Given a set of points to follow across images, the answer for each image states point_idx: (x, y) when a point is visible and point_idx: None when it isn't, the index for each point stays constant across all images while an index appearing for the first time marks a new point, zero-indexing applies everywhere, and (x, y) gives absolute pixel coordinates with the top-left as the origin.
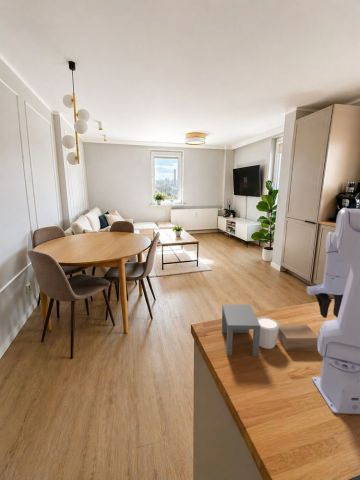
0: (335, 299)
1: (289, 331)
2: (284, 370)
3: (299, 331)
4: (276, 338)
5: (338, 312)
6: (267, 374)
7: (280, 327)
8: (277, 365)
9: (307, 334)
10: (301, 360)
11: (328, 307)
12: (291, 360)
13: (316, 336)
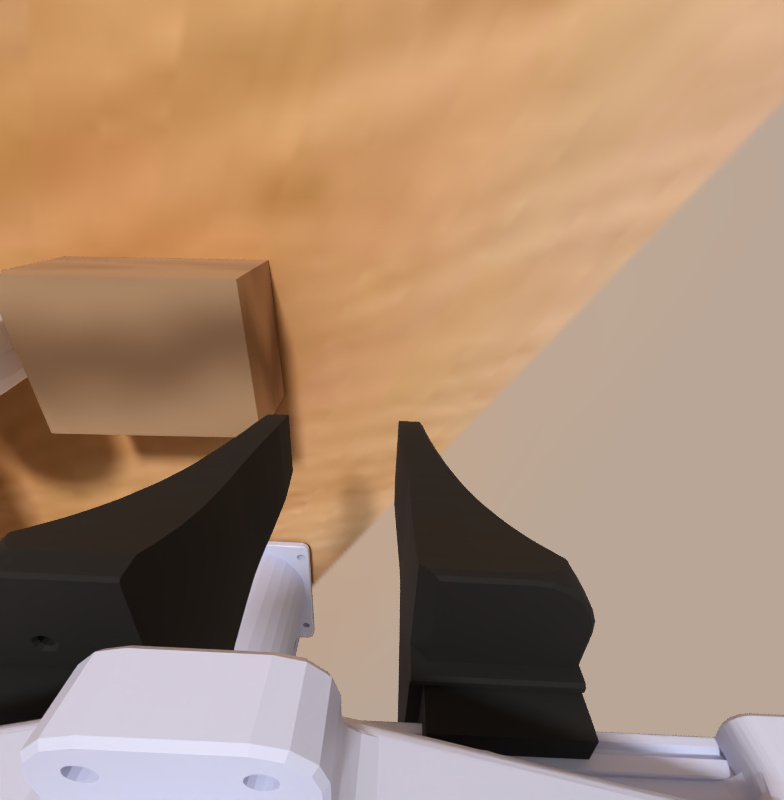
0: (409, 538)
1: (78, 365)
2: (91, 498)
3: (151, 368)
4: (17, 375)
5: (397, 516)
6: (21, 512)
7: (12, 314)
8: (63, 475)
9: (199, 401)
10: (178, 452)
11: (247, 592)
12: (131, 451)
13: (252, 422)
